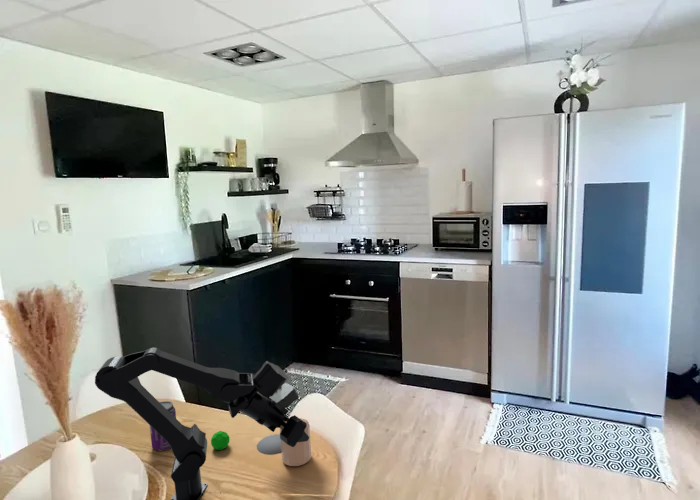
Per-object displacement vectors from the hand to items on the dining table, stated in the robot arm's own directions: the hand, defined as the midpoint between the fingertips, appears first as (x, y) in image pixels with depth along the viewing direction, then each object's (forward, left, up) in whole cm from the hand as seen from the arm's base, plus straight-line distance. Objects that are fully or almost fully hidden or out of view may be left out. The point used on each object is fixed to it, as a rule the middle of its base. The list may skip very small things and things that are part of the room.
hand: (299, 432), depth 116 cm
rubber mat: (+6, +9, -7) cm, 13 cm away
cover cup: (-1, +1, -6) cm, 6 cm away
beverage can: (+5, +41, -7) cm, 42 cm away
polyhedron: (+4, +24, -7) cm, 25 cm away
